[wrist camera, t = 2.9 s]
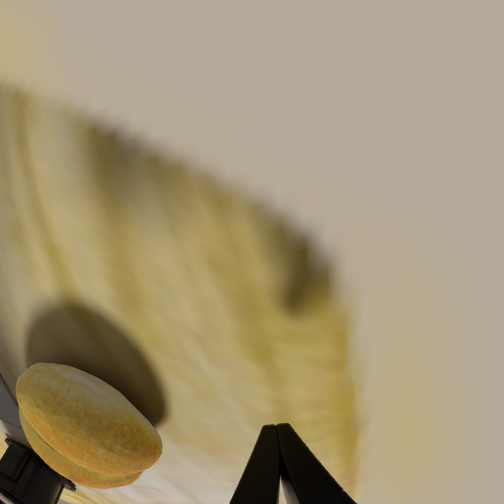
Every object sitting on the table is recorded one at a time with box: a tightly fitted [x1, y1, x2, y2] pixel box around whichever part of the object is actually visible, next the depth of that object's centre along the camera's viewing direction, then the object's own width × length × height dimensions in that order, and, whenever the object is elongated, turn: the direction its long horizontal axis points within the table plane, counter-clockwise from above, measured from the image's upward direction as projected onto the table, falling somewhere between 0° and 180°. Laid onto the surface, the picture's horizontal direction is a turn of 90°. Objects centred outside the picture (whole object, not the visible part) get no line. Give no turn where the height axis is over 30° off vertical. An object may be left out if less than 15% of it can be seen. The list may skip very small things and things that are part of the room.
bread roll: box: [16, 362, 162, 489], centre depth 9 cm, size 8×9×4 cm
